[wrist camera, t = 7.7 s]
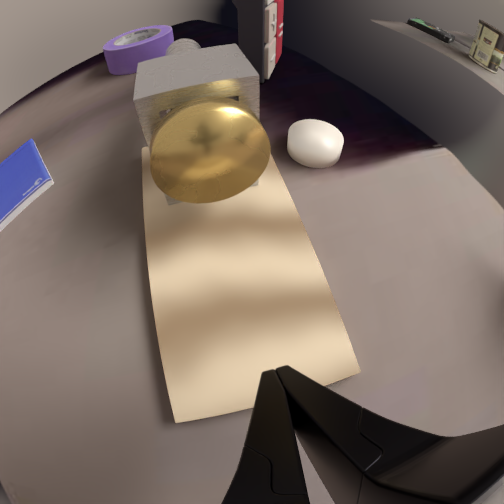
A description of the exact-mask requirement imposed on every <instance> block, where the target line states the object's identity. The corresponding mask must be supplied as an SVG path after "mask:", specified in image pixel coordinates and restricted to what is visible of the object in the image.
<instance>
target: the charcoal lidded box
mask: <svg viewBox="0 0 504 504" xmlns="http://www.w3.org/2000/svg"><path fill="white" fill-rule="evenodd" d="M283 1H284V0H232V2H233V4H234V5H235V6H236V7H237V9H238V33H239V49H240V50H241V51H242V53H243V54H244V55H245V57H246V58H247V59H248V61H249V62H250V63H251V65H252V66H253V67H254V69H255V70H256V71H257V73H258V74H259V83H263V82H264V81H265V79H269V77H270V75H271V73H272V71H273V69H274V67H275V64H276V63H277V61H278V59H279V57H280V55H281V51H282V33H283V31H282V28H283Z"/></svg>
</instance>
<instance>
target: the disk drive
mask: <svg viewBox="0 0 504 504" xmlns="http://www.w3.org/2000/svg"><path fill="white" fill-rule="evenodd" d="M407 24H409V25H412V26H414V27H416V28H418V29H420V30H423V31H425V32H427V33H429V34H431V35H433V36H435V37H437V38H439V39H441V40H443V41H445V42H446V43H451V42H454V39H455V36H453V35H451V34H449V33H447V32H445V31H443V30H442V29H439V28H438V27H435V26H433V25H431V24H429V23H427V22H425V21H423V20H420V19H418V18H413V19H409V20H408V22H407Z"/></svg>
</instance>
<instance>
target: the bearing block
mask: <svg viewBox="0 0 504 504" xmlns="http://www.w3.org/2000/svg"><path fill="white" fill-rule="evenodd" d="M208 96H219V97H226V98H231V99H234V100H236V101H239V102H241V103H243V104H245V105H246V106H247V107H249V108H250V109H251V110H252V111H253V112H254V113H255V114H256V116H257V117H258V119H259V74H258V73H257V71H256V70H255V69H254V67H253V66H252V65H251V63H250V62H249V61H248V59H247V58H246V57H245V55H244V54H243V53H242V51H241V50H240V49H239V47H238V46H237V45H236V44H229V45H221V46H214V47H208V48H202V49H196V50H191V51H185V52H180V53H176V54H171V55H167V56H162V57H158V58H154V59H150V60H146V61H143V62H139V63H138V66H137V74H136V81H135V90H134V99H133V101H134V104H135V108H136V111H137V114H138V117H139V120H140V124H141V127H142V130H143V133H144V136H145V139H146V142H147V145H148V148H149V147H150V140H151V136H152V133H153V131H154V129H155V127H156V126H157V124H158V123H159V121H160V120H161V119H162V118H163V117H164V116H165V115H166V114H167V112H166V110H168V109H172V108H175V107H177V106H179V105H180V104H182V103H184V102H187V101H190V100H193V99H196V98H201V97H208ZM149 151H150V149H149ZM257 185H259V179H258V180H257V181H256V182H255V183H253V184H252V185H251V186H250V187H252V186H257ZM164 195H165V197H166V200H167V203H168V205H173V204H177V203H181V202H182V201H179V200H176V199H174V198H171V197H170V196H168V195H166V194H165V193H164Z"/></svg>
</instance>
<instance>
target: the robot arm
mask: <svg viewBox="0 0 504 504" xmlns="http://www.w3.org/2000/svg"><path fill="white" fill-rule="evenodd" d="M295 434H296V436H297V437H298V439H299V441H300V443H301V445H302V447H303V448H304V450H305V452H306V454H307V456H308V457H309V459H310V461H311V463H312V465H313V466H314V468H315V470H316V472H317V473H318V475H319V477H320V479H321V480H322V482H323V484H324V485H325V487H326V489H327V491H328V492H329V494H330V496H331V497H332V499H333V501H334V502H335V504H504V424H503V425H500V426H497V427H493V428H490V429H486V430H482V431H479V432H475V433H471V434H466V435H462V436H456V437H446V436H439V435H435V434H431V433H428V432H425V431H422V430H418V429H415V428H412V427H409V426H406V425H403V424H400V423H397V422H394V421H392V420H389V419H387V418H384V417H382V416H380V415H378V414H376V413H373V412H371V411H369V410H368V409H366V408H362V407H361V406H360V405H358V404H356V403H354V402H352V401H350V400H348V399H346V398H345V397H343V396H341V395H339V394H337V393H335V392H334V391H332V390H330V389H328V388H326V387H325V386H323V385H321V384H319V383H318V382H316V381H314V380H312V379H311V378H309V377H307V376H306V375H304V374H302V373H300V372H299V371H297V370H295V369H294V368H292V367H290V366H289V365H284V366H281V367H278V368H276V369H275V370H274V369H271V370H267V371H263V372H262V373H261V377H260V381H259V386H258V390H257V394H256V399H255V403H254V407H253V411H252V415H251V419H250V423H249V427H248V431H247V435H246V439H245V443H244V447H243V451H242V454H241V458H240V461H239V464H238V468H237V470H236V473H235V475H234V478H233V480H232V482H231V485H230V487H229V489H228V491H227V493H226V495H225V497H224V499H223V501H222V503H221V504H310V502H309V497H308V493H307V488H306V483H305V478H304V474H303V469H302V464H301V460H300V455H299V450H298V446H297V441H296V436H295Z"/></svg>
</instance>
